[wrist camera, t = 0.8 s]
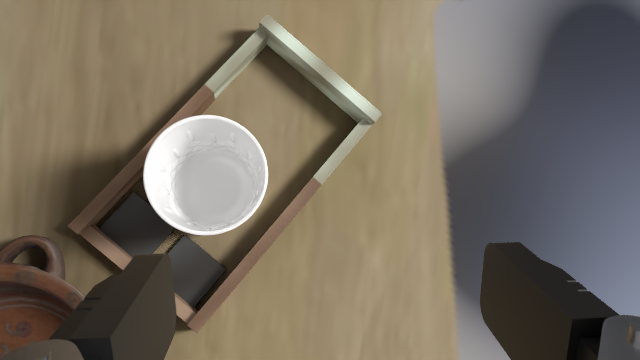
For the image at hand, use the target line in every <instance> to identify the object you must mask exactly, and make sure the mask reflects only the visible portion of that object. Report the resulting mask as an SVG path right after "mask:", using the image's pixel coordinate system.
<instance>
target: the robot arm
mask: <svg viewBox="0 0 640 360" xmlns="http://www.w3.org/2000/svg"><path fill="white" fill-rule="evenodd" d="M480 306H481V312H482V316H483V319H484V321H485V323H486V325H487V326H488V328H489V329H490V331H491V332H492V333H493V335H494V336H495V338H496V339H497V340H498V342H499V343H500V345H501V346H502V347H503V349H504V350H505V351H506V353H507V354H508V356H509V357H510V359H511V360H640V317H639V316H633V315H619V314H618V313H616V312H615V311H614V310H612V309H611V308H610V307H609V306H607V305H606V304H605V303H604V302H602V301H601V300H600V299H599V298H597V297H596V296H595V295H594V294H593V293H591V292H590V291H587V289H586V288H585V287H584V286H583V285H581V284H580V283H579V282H576V280H575V279H574V278H572V277H571V276H570V275H569V274H568V273H566V272H565V271H564V270H563V269H561V268H559V267H556V266H554V265H552V264H550V263H548V262H546V261H543V260H541V259H540V258H538V257H537V256H536V255H535V254H534V253H532V252H531V251H530V250H529V249H528V248H526V247H525V246H524V245H523V244H521V243H520V242H506V243H489V244H488V245H487V246H486V248H485V253H484V263H483V273H482V284H481V295H480ZM176 318H177V314H176V302H175V293H174V284H173V275H172V266H171V260H170V257H169V255H168V254H139V255H135V256H134V257H133V258H132V260H131V261H130V262H129V263H128V265H127V266H126V267H125V268H124V270H123V271H122V272H121V273H120V275H112V276H110V277H109V278H107V279H105V280H104V281H102V282H100V283H99V284H97V285H95V286H94V287H93V288H92V290H91V291H90V292H89V293H88V294H87V295H86V297H85V298H84V301H81V302H80V303H79V305H78V306H77V307H76V308H75V311H73V312H72V313H71V314H70V315H69V316H68V317H67V318H66V320H65V321H64V322H63V323H62V324H61V325H60V327H59V328H58V329H57V330H56V331H55V332H54V334H53V335H52V336H51V337H50V338H49V339H48V340H44V341H39V342H34V343H31V344H28V345H25V346H22V347H20V348H17V349H15V350H13V351H11V352H9V353H7V354H6V355H4V356H3V357H1V358H0V360H164V358H165V355H166V353H167V351H168V348H169V346H170V344H171V341H172V339H173V337H174V333H175V329H176Z"/></svg>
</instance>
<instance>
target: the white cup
mask: <svg viewBox="0 0 640 360" xmlns="http://www.w3.org/2000/svg"><path fill="white" fill-rule="evenodd" d="M143 181H144V188H145V192H146V195H147V197H148V200H149V202H150V204H151V206H152V207H153V209H154V210H155V211H156V213H157V214H158V215H159V216H160V217H161V218H162V219H163V220H164V221H165V222H167V223H168V224H170V225H171V226H173V227H174V228H176V229H178V230H181V231H183V232H186V233H190V234H195V235H215V234H220V233H224V232H227V231H229V230H232V229H234V228H236V227H237V226H239V225H241V224H242V223H244V222H245V221H246V220H247V219H248V218H249V217H250V216H251V215H252V214H253V213H254V212H255V211H256V209H257V208H258V206H259V205H260V203H261V201H262V199H263V197H264V194H265V191H266V188H267V182H268V167H267V162H266V158H265V155H264V152H263V150H262V148H261V146H260V144H259V143H258V141H257V140H256V139H255V137H254V136H253V135H252V134H251V133H250V132H249V131H248V130H247V129H245V128H244V127H243V126H241V125H240V124H238V123H236V122H234V121H232V120H230V119H227V118H224V117H220V116H214V115H198V116H192V117H188V118H185V119H183V120H180V121H178V122H176V123H174V124H172V125H171V126H169V127H168V128H167V129H165V130H164V131H163V132H162V133H161V134H160V135H159V136H158V137H157V139H156V140H155V141H154V143H153V144H152V146H151V148H150V149H149V152H148V154H147V157H146V160H145V164H144V170H143Z"/></svg>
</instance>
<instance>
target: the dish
mask: <svg viewBox="0 0 640 360" xmlns="http://www.w3.org/2000/svg"><path fill="white" fill-rule="evenodd" d="M28 248H40V249H41V250H43V252H44V253H45V255H46V258H47V263H46V267H45V268H44V269H43V270H40V269H39V268H37V267H33V266H30V265H21V264H17V263H12V262H13V260H14V259H15V258H16V257H17V256H18V255H19V254H20V253H21V252H22V251H24V250H26V249H28ZM84 298H85V297H84V296H83V295H82V294H81V293H80V291H79V290H77V289H76V288H75V287H74V286H72V285H71V284H69V283H68V282H66V281H65V264H64V260H63V255H62V253H61V250H60V248H59V246H58V245H57V244H56V243H55V242H54V241H52V240H51V239H49V238H46V237H40V236H34V235H29V236H22V237H20V238H18V239H15V240H14V241H12V242H10V243H9V244H8V245H6V246H5V247H4V248H3V249H2V250H0V358H1V357H3V356H4V355H6V354H7V353H9V352H11V351H13V350H15V349H17V348H20V347H22V346H25V345H28V344H31V343H34V342H39V341H44V340H48V339H49V338H50V337H51V336H52V335H53V334H54V332H55V331H56V330H57V329H58V328H59V327H60V325H61V324H62V323H63V322H64V321H65V320H66V318H67V317H68V316H69V315H70V314H71V313H72V312H73V311H75V308H76V307H77V306H78V305H79V303H80V302H81V301H84Z"/></svg>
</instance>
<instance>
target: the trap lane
mask: <svg viewBox="0 0 640 360" xmlns="http://www.w3.org/2000/svg"><path fill="white" fill-rule="evenodd" d="M266 45H268V46H269V47H270V48H271V49H273V50H274V51H275V52H276V53H277V54H278V55H280V56H281V57H282V58H283V59H284V60H285V61H287V62H288V63H289V64H290V65H291V66H292V67H294V68H295V69H296V70H297V71H298V72H299V73H300V74H302V75H303V76H304V77H305V78H306V79H307V80H309V81H310V82H311V83H312V84H313V85H314V86H316V87H317V88H318V89H319V90H320V91H321V92H322V93H324V94H325V95H326V96H327V97H328V98H329V99H331V100H332V101H333V102H334V103H335V104H336V105H338V106H339V107H340V108H341V109H342V110H343V111H344V112H346V113H347V114H348V115H349V116H350V117H351V118H353V119H354V120H355V121H356V122H357V123H358V124H357V125H356V126H355V127H354V129H353V130H352V131H351V132H350V133H349V135H348V136H347V137H346V138H345V139H344V140H343V142H342V143H341V144H340V145H339V146H338V148H337V149H336V150H335V151H334V152H333V153H332V155H331V156H330V157H329V158H328V159H327V160H326V162H325V163H324V164H323V165H322V166H321V168H320V169H319V170H318V171H317V172H316V173H315V175H314V176H313V177H312V178H311V179H310V180H309V182H308V183H307V184H306V185H305V186H304V188H303V189H302V190H301V191H300V192H299V193H298V195H297V196H296V197H295V198H294V199H293V200H292V202H291V203H290V204H289V205H288V206H287V208H286V209H285V210H284V211H283V212H282V213H281V215H280V216H279V217H278V218H277V219H276V221H275V222H274V223H273V224H272V225H271V226H270V228H269V229H268V230H267V231H266V232H265V233H264V235H263V236H262V237H261V238H260V239H259V241H258V242H257V243H256V244H255V245H254V246H253V248H252V249H251V250H250V251H249V252H248V253H247V255H246V256H245V257H244V258H243V259H242V261H241V262H240V263H239V264H238V265H237V266H236V268H235V269H234V270H233V271H232V272H231V273H230V275H229V276H228V277H227V278H226V279H225V281H224V282H223V283H222V284H221V285H220V286H219V288H218V289H217V290H216V291H215V292H214V294H213V295H212V296H211V297H210V298H209V299H208V301H207V302H206V303H205V304H204V305H203V306H202V308H201V309H200V310H199V311H198V310H197V309H195V308H194V307H195V305H196V304H197V303H198V302H199V301H200V300H201V298H202V297H203V296H204V295H205V294H206V293H207V291H208V290H209V289H210V288H211V287H212V285H213V284H214V283H215V282H216V281H217V280H218V278H219V277H220V276H221V275H222V274H223V273H224V271H225V270H226V268H224V267H223V266H222V265H221V264H220V263H218V262H217V261H216V260H215V259H214V258H212V257H211V256H210V255H209V254H208V253H207V252H205V251H204V250H203V249H202V248H201V247H199V246H198V245H197V244H196V243H195V242H193V241H192V240H191V239H190V238H189V237H187V236H186V235H184V236H183V237H182V238H181V240H180V241H179V242H178V243H177V244H176V245H175V246H174V247H173V249H172V250H171V251H170V252H169V253H168V255H169V257H170V260H171V266H172V275H173V284H174V293H175V302H176V314H177V316H179V317H180V318H181V319H182V320H183V321H185V322H186V323H187V324H188V325H187V326H188V327H190V328H191V329H192V330H193V331H194V332H196V333H198V332H199V330H200V329H201V328H202V327H203V326H204V324H205V323H206V322H207V321H208V320H209V318H210V317H211V316H212V315H213V314H214V312H215V311H216V310H217V309H218V308H219V307H220V305H221V304H222V303H223V302H224V301H225V299H226V298H227V297H228V296H229V295H230V293H231V292H232V291H233V290H234V289H235V287H236V286H237V285H238V284H239V283H240V282H241V280H242V279H243V278H244V277H245V276H246V274H247V273H248V272H249V271H250V270H251V268H252V267H253V266H254V265H255V264H256V262H257V261H258V260H259V259H260V258H261V257H262V255H263V254H264V253H265V252H266V251H267V249H268V248H269V247H270V246H271V245H272V243H273V242H274V241H275V240H276V239H277V237H278V236H279V235H280V234H281V233H282V232H283V230H284V229H285V228H286V227H287V226H288V224H289V223H290V222H291V221H292V220H293V218H294V217H295V216H296V215H297V214H298V212H299V211H300V210H301V209H302V208H303V207H304V205H305V204H306V203H307V202H308V201H309V199H310V198H311V197H312V196H313V195H314V193H315V192H316V191H317V190H318V189H319V187H320V186H321V185H322V184H323V183H324V182H325V180H326V179H327V178H328V177H329V176H330V174H331V173H332V172H333V171H334V170H335V168H336V167H337V166H338V165H339V164H340V162H341V161H342V160H343V159H344V158H345V157H346V155H347V154H348V153H349V152H350V151H351V149H352V148H353V147H354V146H355V145H356V143H357V142H358V141H359V140H360V139H361V137H362V136H363V135H364V134H365V133H366V132H367V130H368V129H369V128H370V127H371V126H372V124H374V123H375V122H376V120H377V119H378V118H379V117H380V116H381V114H382V113H381V112H380V111H379V110H377V109H376V108H375V107H374V106H373V105H372V104H371V103H369V102H368V101H367V100H366V99H365V98H364V97H362V96H361V95H360V94H359V93H358V92H357V91H356V90H354V89H353V88H352V87H351V86H350V85H349V84H347V83H346V82H345V81H344V80H343V79H342V78H341V77H339V76H338V75H337V74H336V73H335V72H334V71H332V70H331V69H330V68H329V67H328V66H327V65H326V64H324V63H323V62H322V61H321V60H320V59H319V58H317V57H316V56H315V55H314V54H313V53H312V52H311V51H309V50H308V49H307V48H306V47H305V46H304V45H302V44H301V43H300V42H299V41H298V40H297V39H295V38H294V37H293V36H292V35H291V34H290V33H289V32H287V31H286V30H285V29H284V28H283V27H282V26H280V25H279V24H278V23H277V22H276V21H275V20H274V19H272V18H271V17H270V16H269V15H268V14H267V15H266V16H265V17H264V18H263V19H262V20H261V21H260V24H259V28H258V29H257V30H256V31H255V32H254V33H253V35H252V36H251V37H250V38H249V39H248V40H247V41H246V42H245V43H244V44H243V45H242V46H241V47H240V48H239V49H238V50H237V51H236V52H235V53H234V54H233V55H232V56H231V57H230V58H229V59H228V60H227V61H226V62H225V63H224V65H223V66H222V67H221V68H220V69H219V70H218V71H217V72H216V73H215V74H214V75H213V76H212V77H211V78H210V79H209V80H208V81H207V82H206V83H205V84H204V85H203V86H202V87H201V88H200V89H199V90H198V91H197V92H196V94H195V95H194V96H193V97H192V98H191V99H190V100H189V101H188V102H187V103H186V104H185V105H184V106H183V107H182V108H181V109H180V110H179V111H178V112H177V113H176V114H175V115H174V116H173V117H172V118H171V119H170V120H169V121H168V122H167V124H166V125H165V126H164V127H163V128H162V129H161V130H160V131H159V132H158V133H157V134H156V135H155V136H154V137H153V138H152V139H151V140H150V141H149V142H148V143H147V144H146V145H145V146H144V147H143V148H142V149H141V150H140V151H139V152H138V154H137V155H136V156H135V157H134V158H133V159H132V160H131V161H130V162H129V163H128V164H127V165H126V166H125V167H124V168H123V169H122V170H121V171H120V172H119V173H118V174H117V175H116V176H115V177H114V178H113V179H112V180H111V181H110V183H109V184H108V185H107V186H106V187H105V188H104V189H103V190H102V191H101V192H100V193H99V194H98V195H97V196H96V197H95V198H94V199H93V200H92V201H91V202H90V203H89V204H88V205H87V206H86V207H85V208H84V209H83V210H82V211H81V213H80V214H79V215H78V216H77V217H76V218H75V219H74V220H73V221H72V222H71V223H70V224H69V225H68V227H69V228H71V229H72V230H73V231H74V232H75V233H77V234H80V235H81V236H82V237H84V238H85V239H86V240H87V241H88V242H90V243H91V244H92V245H93V246H94V247H96V248H97V249H98V250H99V251H100V252H102V253H103V254H104V255H105V256H106V257H108V258H109V259H110V260H111V261H112V262H114V263H115V264H116V265H117V266H118V267H120V268H121V269H122V270H124V268H125V267H126V266H127V265H128V263H129V262H130V261H131V260H132V258H133V257H134V256H135V255H139V254H153V252H154V251H155V250H156V249H157V248H158V247H159V246H160V245H161V244H162V242H163V241H164V240H165V239H166V238H167V237H168V236H169V235H170V234H171V232H172V231H173V230H174V229H175V228H174V227H173V226H171V225H170V224H168V223H167V222H165V221H164V220H163V219H162V218H161V217H160V216H159V215H158V214H157V213H156V211H155V210H154V209H153V207H152V206H151V205H149V204H148V203H147V202H146V201H145V200H143V199H142V198H141V197H140V196H139V195H137V194H136V193H135V192H133V193H132V194H131V195H130V197H129V198H128V199H127V200H126V201H125V202H124V203H123V204H122V205H121V206H120V207H119V208H118V209H117V210H116V211H115V212H114V213H113V214H112V216H111V217H110V218H109V219H108V220H107V221H106V222H105V223H104V224H103V225H102V226H101V227H100V228H98V227H97V226H96V224H97V223H98V222H99V221H100V220H101V219H102V218H103V217H104V216H105V215H106V214H107V213H108V212H109V211H110V210H111V208H112V207H113V206H114V205H115V204H116V203H117V202H118V201H119V200H120V199H121V198H122V197H123V196H124V195H125V194H126V193H127V192H128V191H129V190H130V188H131V187H132V186H133V185H134V184H135V183H136V182H137V181H138V180H139V179H140V178H141V177H142V176H143V170H144V164H145V160H146V157H147V154H148V152H149V149H150V148H151V146H152V144H153V143H154V141H155V140H156V139H157V137H158V136H159V135H160V134H161V133H162V132H163V131H164V130H165V129H167V128H168V127H169V126H171V125H172V124H174V123H176V122H178V121H180V120H183V119H185V118H188V117H192V116H198V115H201V114H202V113H203V112H204V111H205V110H206V109H207V107H208V106H209V105H210V104H211V103H212V102H213V101H214V100H215V99H216V98H217V97H218V96H219V95H220V94H221V93H222V92H223V91H224V90H225V89H226V87H227V86H228V85H229V84H230V83H231V82H232V81H233V80H234V79H235V78H236V77H237V76H238V75H239V74H240V73H241V72H242V71H243V70H244V69H245V68H246V66H247V65H248V64H249V63H250V62H251V61H252V60H253V59H254V58H255V57H256V56H257V55H258V54H259V53H260V52H261V51H262V50H263V49H264V48H265V46H266Z"/></svg>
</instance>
